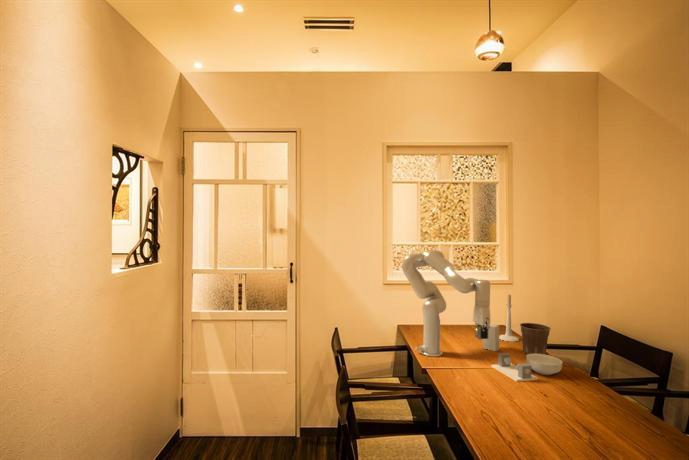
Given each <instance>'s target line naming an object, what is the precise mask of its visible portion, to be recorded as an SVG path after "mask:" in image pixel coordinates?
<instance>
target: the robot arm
mask: <svg viewBox="0 0 689 460" xmlns="http://www.w3.org/2000/svg"><path fill="white" fill-rule="evenodd" d="M428 266H429V267H431V269H434V270H435V271H437V272H438V273H439V274H440V275H441V276H443V278H444V279H445V281H446V282H447V283H448V284H449V285H450V286H451V287H453V288H454V289H455V290H456V291H458V292H460V293H461V294H469V293H472V292H474V294H475V295H474V307H473V315H472V316H473V318H472V319H473V320H472V321H473V322H474V323H475V327H476V326H482V334H481V338H482V339H481V340H483V339H486V338H487V335H488V329H489V328H490V324H491V309H490V307H491V282H490V280H487V279H477V278H473V277H467V278H464V277H463V276H461V275H460V274H458V273H457V272H456V271H455V269H454V264H453V263H452V262H450V261H449V260H447V259H446V258H445V255H444V253H443V252H442V251H440V250H437V249H436V250H434V249H433V250H429V251H426V252H418V253H410V254H407V255H406V256H405V257H404V258H403V261H402V263H401V267H402V269H401V270H402V272H403V274H404V276H405V277H406V279H407V281H408V282H409V284H410V285H411V286H410V287H411V288H412V290H413V291H414V294H416V297H418V298H419V299H421V300H425V299H426V301H424V303H423V305H422V310H421V311H422V316H423V317H422V318H423V333H422V334H423V340H422V342H423V344H421V346H415V349H414V350H415V351H419V352H420V353H421V354H422V355H424V356H427V357H433V358H434V357H441V356H442V355H443V351H442V350H441V319H440V314H442V313H443V312H445V310H447V301H446V299H445V297H443V294H442V293H441V291H440V289H439V288H438V286H437V285H436V284H435V283H434V282H432V281H430V280H428V281H426V280H425V279H424V277H423V275H422V273H421V272H420V271H419V270H418V268H421V267H428ZM485 324H486V325H485ZM484 326H486V327H485V328H484Z"/></svg>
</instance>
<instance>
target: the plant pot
mask: <svg viewBox="0 0 689 460" xmlns="http://www.w3.org/2000/svg"><path fill="white" fill-rule="evenodd" d="M519 327H520V332H521V343H522V352H523V353H524V354H525V355H528V354H544V355H547V346H548V341H549V336H550V330H551V329H552V327H550V326H548V325H545V324H540V323H536V322H535V323H534V322H522V323H519Z"/></svg>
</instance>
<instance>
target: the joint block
mask: <svg viewBox="0 0 689 460" xmlns="http://www.w3.org/2000/svg"><path fill="white" fill-rule="evenodd" d="M485 327H486V326H484V328H485ZM474 329H475V330H474V331H475V334H474V335H475V338H477V339H479V340H483V339H482V338H481V334H482V326H476V325H475V328H474ZM488 331H489V329H488ZM486 339H488V335H487V338H486Z"/></svg>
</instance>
